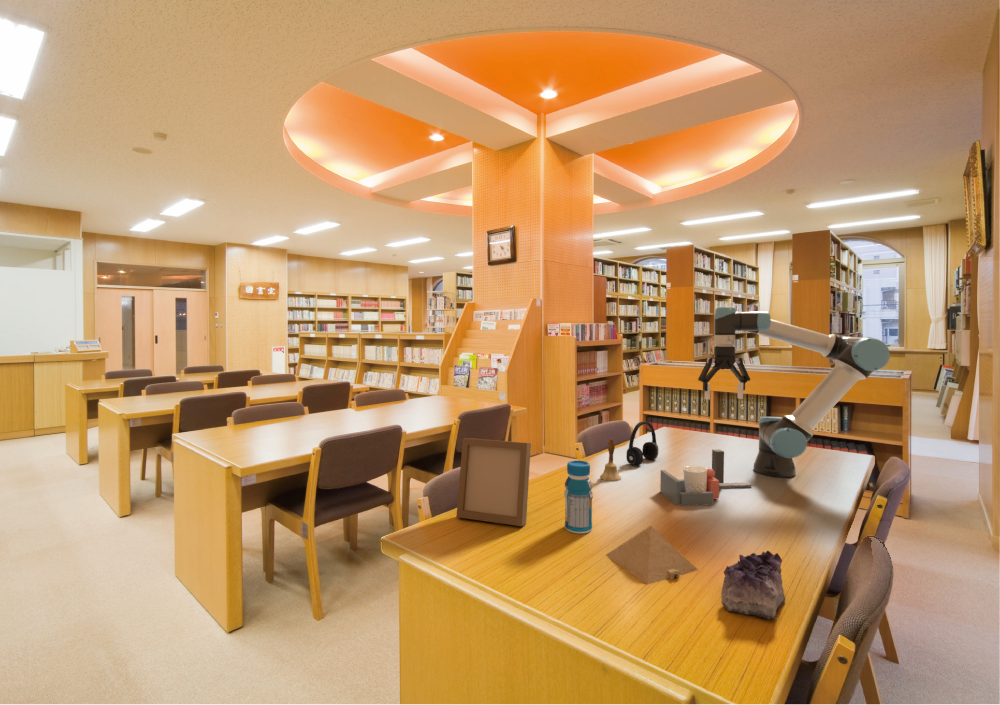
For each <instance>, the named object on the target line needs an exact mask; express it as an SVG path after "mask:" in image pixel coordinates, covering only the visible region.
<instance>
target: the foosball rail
mask: <svg viewBox="0 0 1000 705" xmlns="http://www.w3.org/2000/svg"><path fill="white" fill-rule="evenodd" d="M745 488H746V489H748V488H749V489H750V488H752V484H750V483H749V482H745V481H744V482H724V483H719V490H720V489H745Z"/></svg>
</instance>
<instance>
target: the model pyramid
mask: <svg viewBox="0 0 1000 705" xmlns="http://www.w3.org/2000/svg"><path fill="white" fill-rule="evenodd" d="M605 555H606V557H608V558H609V559H611V560H612V561H614V562H615V563H617V564H618V565H620V567H622V568H623V569H625V570H627V571H628V572H629V573H630V574H632V575H633V576H635V577H637V579H639V580H640V581H641V582H643V584H644V583H645V584H646V585H651V584H655V583H658V582H661V581H664V580H668V579H670V580H671V581H672V580H675V578H677V579H680V576H682V575H685V574H686V575H687V574H689V573H693V572H696V571H699V569H698V568H697V567H696V566H694V564H692V562H690V561H689V560H688V559H687V557H685V556H684V555H683V554H682V553H681V552H680V551H679V550H678V549H676V547H674V545H672V544H671V543H670V542H669V541H668V540H667V539H666V538H665V537H663V536H662V534H660V532H659V531H657V529H655V528H654V527H653V526H652V525H649V526H648V527H647V528H645V529H643V530H642V531H640V532H638V534H636V535H634V536H633V537H631V538H630V539H628V540H627V541H625V542H624V543H622V544H621V545H618V546H617V547H616V548H614V549H613V550H611V551H609V552H608V553H606V554H605Z"/></svg>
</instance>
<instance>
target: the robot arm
mask: <svg viewBox="0 0 1000 705" xmlns="http://www.w3.org/2000/svg"><path fill="white" fill-rule="evenodd" d="M737 331H738V332H740V331H741V332H748V333H751V334H755V335H758V336H762V337H766V338H768V339H771V340H775V341H779V342H783V343H785V344H788V345H793V346H795V347H798V348H802V349H805V350H810V351H813V352H816V353H819V354H821V356H822V357H824V358H827V359H830V360H833V361H834V366H833V368H832V369H831V370H830V371H829V372H828V373H827V375H825V377H824V378H823V379H822V380H821V381H820V383H818V384H817V386H816V387H815V388H814V389H813V390H811V392H810V393H809V394H808V395H807V397H806V398H805V399H804V400H803V401H802V402H801V403H800V404H799V405H798V406H797V408H795V410H793V412H792V413H791V414H787V415H785V414H784V415H783V417H781V416H761V417H760V418H759V422H758V453H757V456H756V458H755V460H754V462H753V470H754V471H755V472H757V473H758V474H762V475H765V476H770V477H776V478H777V477H779V478H789V477H790V478H791V477H794V476H796V474H797V473H796V472H797V471H796V466H795V463H794V461H793V459H794V458H797V457H800V456H802V455H803V454H804V453H805V452H806V450H807V448H808V442H809V440H811V438H812V437H813V436H814V432H813V429H814V428H815V427H816V426H817V425H818V424H819V423H820V422H821V421H822V420H823V419H824V418H825V417H826V415H827V414H828V413H829V412H831V410H832V409H833V408H834V407H835V406H836V404H837V403H838V402H839V401H841V399H842V398H843V397H845V395H846V394H847V393H848V392H849V391H850V390H851V388H852V387H854V385H855V384H856V383H857V382H858V381H862V380H866V379H867V378H868V377H870V375H871V374H872V373H873V372H874V371H879V370H882V369H883V368H884V367H885V366H886V365H887V364H888V363H889V361H890V358H891V354H890V350H889V347H888V345H886V343H885V342H883V341H882V340H881V339H878V338H876V337H875V338H874V337H870V336H864V337H859V336H844V335H838V334H835V333H831V334H825V333H822V332H818V331H815V330H811V329H808V328H804V327H801V326H800V327H799V326H796V325H794V324H790V323H785V322H783V321H780V320H775V319H772V318H771V313H770V312H769V311H761V310H757V311H737V308H736V307H735V306H720V307H716V308H715V312H714V342H713V343H714V344H713V345H715V346H714V347H713V349H714V350H713V351H714V352H713V353H714V354H713V355H714V357H713V358H712V357H711V358H710V357H707V358H706V359H705V364H704V366H703V368H702V371H701V372H700V375H699V377H698V378H697V380H698V381H699V382H701V383H702V391H703V392H704V399H705V400H709V401H710V400H711V383H710V381H711V379H712V378H713V377H714V376H715V375H716V374H717V372H718V371H720V370H730V371H731V372H732V374H733V375H734V376H735V378H737V380H738V381H737V394H736V396H737V397H736V398H737V399H739V400H744V391H746V383H748V382H750V381H751V378H750V375H749V373H748V371H747V368H746V367H745V365H744V359H743V357H737V358H735V356H736V347H735V345H736V332H737ZM713 363H714V365H713ZM735 364H736V365H737V366H736V365H735ZM712 365H713V366H712ZM711 367H712V368H711ZM737 368H738V369H737Z"/></svg>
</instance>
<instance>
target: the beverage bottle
mask: <svg viewBox="0 0 1000 705" xmlns="http://www.w3.org/2000/svg"><path fill="white" fill-rule="evenodd" d="M566 472H567V475H568V476H567V478H566V480H565V482H564V487H565V490H564V493H563V494H564V510H565V512H564V515H565V517H564V528H565V530H567V531H568V532H569V533H573V534H579V535H580V534H588V533H590V532H591V531H592V529H593V521H592V520H593V498H594V494H593V491H592V489H593V483H592V481H591V479H590V477H589V476H590V474H591V464H590V463H589V462H588V461H584V460H577V459H576V460H571V461H568V462H567V466H566Z"/></svg>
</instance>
